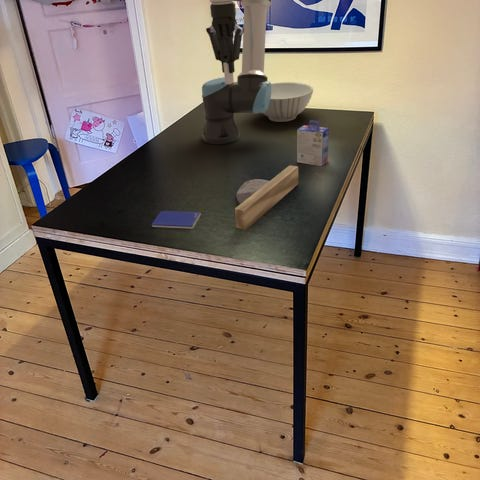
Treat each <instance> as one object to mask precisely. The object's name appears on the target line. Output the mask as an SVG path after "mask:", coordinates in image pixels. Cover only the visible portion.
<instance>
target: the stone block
mask: <svg viewBox="0 0 480 480" xmlns="http://www.w3.org/2000/svg"><path fill="white" fill-rule="evenodd" d="M269 181H270V180H267V179H257V178H255V179H249V180H247V181H244V182H243V184H242V185H240V187H239V188H238V190H237V192H236V200H237V202H238V203H239V204H241V203H243V202H244V201H245V200H246V199H248V198H249V197H250V196H252V195H253V194H254V193H255V192H257V191H258V190H259V189H260V188H262V187H263V186H264V185H265V184H267V183H268V182H269Z"/></svg>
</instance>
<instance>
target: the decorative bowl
mask: <svg viewBox="0 0 480 480" xmlns="http://www.w3.org/2000/svg"><path fill="white" fill-rule="evenodd" d="M270 83H271V87H272V88H271V99H270V104H269V107H268V109H267V110H266V111H265V112H264V113H262V114H263V115H264V116H266V117H267V118H268V119H269V120H270V121H272V122H281V123H282V122H283V123H284V122H290V121H293V120H295V119H296V118H297V116H298V115H299V114H301V113H302V112H303V111H304V110H305V109H306V107H307V106H308V104H309V103H310V101H311V99H312V96H313V93H314V88H313V86H311V85H310V84H307V83H302V82H292V81H291V82H290V81H285V82H284V81H283V82H281V81H280V82H270Z"/></svg>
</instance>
